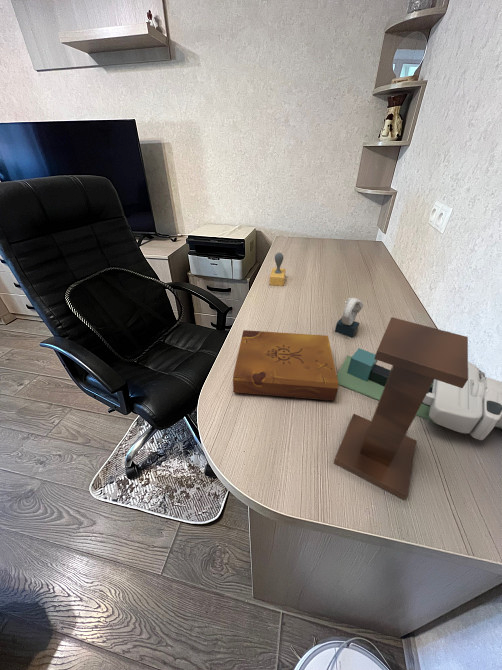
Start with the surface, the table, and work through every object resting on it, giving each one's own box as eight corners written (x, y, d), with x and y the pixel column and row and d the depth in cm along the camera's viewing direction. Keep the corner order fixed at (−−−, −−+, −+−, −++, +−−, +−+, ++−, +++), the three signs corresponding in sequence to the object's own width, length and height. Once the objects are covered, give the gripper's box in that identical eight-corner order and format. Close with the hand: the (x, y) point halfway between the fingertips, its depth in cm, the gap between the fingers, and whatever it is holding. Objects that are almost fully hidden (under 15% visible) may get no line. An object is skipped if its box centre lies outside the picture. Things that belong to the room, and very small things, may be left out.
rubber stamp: (283, 286, 113) (285, 257, 106) (269, 285, 114) (270, 256, 107) (285, 276, 121) (287, 249, 114) (271, 275, 122) (273, 248, 115)
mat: (448, 391, 65) (449, 389, 65) (446, 427, 57) (446, 426, 57) (347, 356, 76) (347, 355, 76) (332, 382, 68) (332, 381, 67)
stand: (414, 445, 54) (476, 335, 39) (404, 500, 45) (479, 388, 31) (352, 417, 59) (385, 312, 44) (333, 463, 51) (367, 351, 36)
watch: (359, 328, 87) (367, 297, 81) (350, 340, 82) (358, 308, 76) (342, 322, 90) (349, 292, 84) (332, 334, 85) (338, 302, 78)
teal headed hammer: (430, 410, 60) (439, 394, 57) (347, 372, 70) (351, 357, 67) (435, 397, 63) (444, 381, 60) (354, 362, 73) (358, 347, 70)
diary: (233, 395, 64) (232, 377, 61) (243, 346, 80) (243, 330, 76) (334, 403, 62) (339, 384, 59) (324, 351, 78) (328, 334, 74)
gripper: (491, 360, 61) (421, 340, 67) (498, 425, 47) (409, 393, 53) (477, 380, 65) (412, 360, 71) (481, 447, 51) (399, 414, 57)
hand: (411, 374), depth 62 cm, fingers open, 8 cm apart
